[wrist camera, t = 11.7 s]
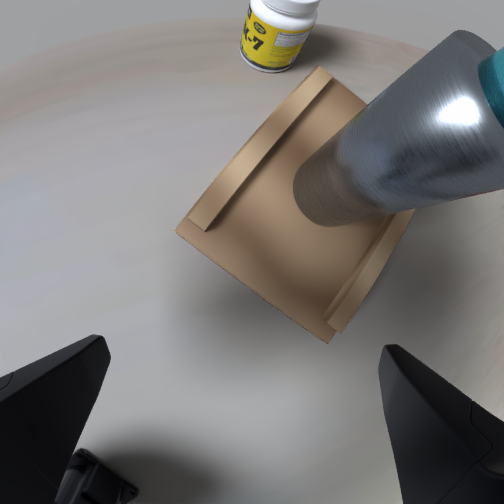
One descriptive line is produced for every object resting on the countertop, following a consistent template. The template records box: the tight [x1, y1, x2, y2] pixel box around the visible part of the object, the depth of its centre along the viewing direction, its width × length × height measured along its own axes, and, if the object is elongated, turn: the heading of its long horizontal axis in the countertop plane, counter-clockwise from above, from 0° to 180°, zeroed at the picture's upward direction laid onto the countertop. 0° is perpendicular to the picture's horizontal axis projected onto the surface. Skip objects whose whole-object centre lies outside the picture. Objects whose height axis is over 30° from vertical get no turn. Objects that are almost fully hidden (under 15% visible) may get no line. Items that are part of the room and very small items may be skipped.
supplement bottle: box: [240, 0, 320, 72], centre depth 17 cm, size 5×5×8 cm
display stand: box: [174, 66, 415, 344], centre depth 20 cm, size 16×12×4 cm
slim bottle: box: [293, 30, 504, 227], centre depth 12 cm, size 5×5×15 cm
